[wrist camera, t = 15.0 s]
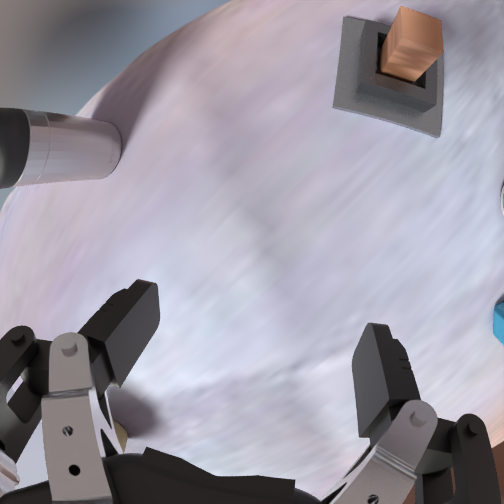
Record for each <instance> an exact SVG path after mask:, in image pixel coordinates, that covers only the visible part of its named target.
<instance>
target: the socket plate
mask: <svg viewBox="0 0 504 504" xmlns="http://www.w3.org/2000/svg"><path fill="white" fill-rule="evenodd" d="M390 29H391V26H389V25H385V24H382V23H378V22H374V21H370V20H365V21H363V20H358V19H354V18H349V17H343V26H342V36H341V46H340V55H339V63H338V71H337V79H336V87H335V94H334V101H333V108H334V109H339V110H344V111H348V112H352V113H356V114H361V115H365V116H368V117H372V118H376V119H380V120H383V121H387V122H390V123H393V124H397V125H400V126H403V127H406V128H409V129H412V130H415V131H418V132H421V133H424V134H427V135H430V136H432V137H435V138H439V137H440V130H441V118H442V101H443V53H442V54H441V55H440V56H439V57H438V58H437V59H436V60H435V61H434V62H433V64H432V65H431V66H430V67H429V68H428V69H427V70H426V71H425V72H424V73H423V74H422V75H421V76H420V77H419V78H418V79H417V80H416V81H415V82H414V83H413V84H409V83H406V82H403V81H400V80H397V79H394V78H390V77H387V76H383V75H380V74H377V69H378V54H379V52H380V50H381V48H382V46H383V43H384V41H385V39H386V37H387V35H388V33H389V31H390Z"/></svg>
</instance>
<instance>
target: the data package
mask: <svg viewBox="0 0 504 504" xmlns="http://www.w3.org/2000/svg"><path fill="white" fill-rule="evenodd" d="M493 334H494V336H495V337H496V338H497V339H498V340H499V341H500V342H501V343H502V344H503V346H504V302H502V303H500V304H498V305H496V306H495V308H494V323H493Z"/></svg>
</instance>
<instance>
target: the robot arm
mask: <svg viewBox="0 0 504 504" xmlns="http://www.w3.org/2000/svg"><path fill="white" fill-rule="evenodd" d="M121 146H122V144H121V137H120V133H119V132H118V130H117V128H116V127H115V126H114V125H113V124H111V123H108V122H104V121H99V120H93V119H89V118H83V117H77V116H71V115H65V114H58V113H51V112H44V111H34V110H26V109H15V108H0V189H2V188H9V187H16V186H24V185H32V184H41V183H52V182H63V181H76V180H93V179H102V178H105V177H107V176H108V175H109V174H110V173H111V172H112V171H113V170H114V169H115V167H116V165H117V163H118V161H119V158H120V154H121ZM159 321H160V308H159V296H158V286H157V284H156V283H153V282H149V281H144V280H140V279H137V280H136V281H135V282H134V283H133V284H132V285H131V286H130V287H129V288H128V289H122V290H120V291H118V292H116V293H115V294H113V295H112V296H111V297H110V298H109V299H108V300H107V301H106V303H105V304H103V305H102V306H101V308H100V310H98V311H97V312H96V313H95V314H94V315H93V316H92V317H91V318H90V319H89V321H88V322H87V323H86V324H85V325H84V326H83V327H82V328H81V329H80V330H79V332H78V333H73V332H71V333H65V334H62V335H60V336H58V337H57V338H55V339H54V341H47V340H40V339H36V337H35V334H34V332H33V330H32V329H31V328H30V327H27V326H17V327H14V328H12V329H11V330H9V331H8V332H7V333H6V334H5V335H4V336H3V337H2V338H1V340H0V504H402V503H403V501H404V500H405V498H406V496H407V495H408V493H409V492H410V490H411V488H412V486H413V485H414V483H415V504H501V498H500V490H499V484H498V478H497V472H496V467H495V462H494V458H493V453H492V449H491V445H490V441H489V437H488V433H487V430H486V427H485V424H484V422H483V421H482V420H481V419H480V418H479V417H478V416H476V415H474V414H465V415H463V416H461V417H460V418H459V419H458V420H457V422H453V421H449V420H445V419H441V418H438V417H437V414H436V412H435V410H434V409H433V408H432V406H430V405H429V404H428V403H426V402H424V401H421V398H420V394H419V391H418V387H417V384H416V381H415V377H414V374H413V371H412V370H411V365H410V362H409V361H408V360H409V359H408V356H407V353H406V350H405V348H404V347H403V345H402V344H401V343H400V342H399V341H398V339H393V338H392V335H391V332H390V329H389V326H388V325H385V324H377V323H368V324H367V325H366V327H365V329H364V332H363V334H362V336H361V338H360V341H359V343H358V345H357V347H356V349H355V352H354V355H353V359H352V372H353V380H354V389H355V398H356V408H357V419H358V431H359V437H361V438H370V444H369V445H368V447H367V448H366V449H365V450H364V452H363V453H362V454H361V455H360V457H359V458H358V459H357V460H356V462H355V463H354V464H353V465H352V467H351V468H350V469H349V470H348V471H347V472H346V474H345V475H344V476H343V477H342V478H341V479H340V480H339V482H338V483H337V484H336V485H335V486H334V487H332V488H331V489H330V490H329V491H328V492H327V493H326V494H325V495H324V496H323V497H322V498H321V499H320V500H318V499H317V498H316V497H314V496H312V495H311V494H309V493H307V492H305V491H302V490H300V489H297V488H295V480H292V479H282V478H273V477H266V476H259V475H256V476H215V475H212V474H210V473H208V472H206V471H204V470H202V469H200V468H198V467H196V466H195V465H193V464H191V463H189V462H187V461H185V460H183V459H182V458H179V457H176V456H172V455H169V454H166V453H163V452H160V451H157V450H154V449H152V448H149V447H146V449H145V451H144V453H143V454H139V453H126V454H123V451H122V449H121V446H120V444H119V441H118V439H117V436H116V433H115V429H114V425H113V421H112V417H111V412H110V407H109V403H108V398H107V393H106V389H107V387H108V386H109V384H110V385H113V386H115V387H117V388H120V387H121V385H122V384H123V382H124V381H125V379H126V377H127V376H128V374H129V372H130V371H131V369H132V368H133V366H134V364H135V363H136V361H137V360H138V358H139V357H140V355H141V353H142V352H143V350H144V349H145V347H146V345H147V344H148V342H149V341H150V339H151V338H152V336H153V335H154V333H155V331H156V330H157V328H158V325H159ZM19 376H21V378H22V379H23V382H22V384H21V385H20V386H19V388H18V389H17V390H16V392H15V393H14V395H13V396H12V398H11V399H10V400H9V402H8V403H7V402H6V395H7V393H8V391H9V390H10V388H11V387H12V386H13V384H14V383H15V381H16V380H17V379H18V377H19ZM41 418H42V429H43V441H44V450H45V459H46V466H47V472H48V479H49V480H47V481H44V482H41V483H38V484H35V485H31V486H28V487H25V488H21V489H17V490H15V487H14V486H16V485H18V484H19V482H20V478H19V476H18V474H17V468H16V463H17V461H18V459H19V457H20V455H21V453H22V451H23V450H24V448H25V446H26V444H27V442H28V440H29V439H30V437H31V435H32V434H33V432H34V430H35V429H36V427H37V425H38V423H39V422H40V420H41ZM451 468H453V470H454V477H455V484H456V491H455V494H454V496H453V485H452V477H451Z"/></svg>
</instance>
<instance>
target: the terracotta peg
mask: <svg viewBox="0 0 504 504" xmlns="http://www.w3.org/2000/svg"><path fill="white" fill-rule="evenodd" d="M442 53H443V40H442V28H441V20H438V19H436V18H433V17H431V16H428V15H426V14H423V13H420V12H417V11H414V10H412V9H409V8H406V7H403V6H401V7H400V9H399V11H398V13H397V16H396V18H395V20H394V22H393V24H392V26H391V29H390V31H389V33H388V35H387V37H386V39H385V41H384V43H383V46H382V48H381V50H380V52H379V54H378V69H377V74H380V75H383V76H387V77H390V78H394V79H397V80H400V81H403V82H406V83H409V84H413V83H414V82H415V81H416V80H417V79H418V78H419V77H420V76H421V75H422V74H423V73H424V72H425V71H426V70H427V69H428V68H429V67H430V66H431V65H432V64H433V62H434V61H435V60H436V59H437V58H438V57H439V56H440V55H441V54H442Z"/></svg>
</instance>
